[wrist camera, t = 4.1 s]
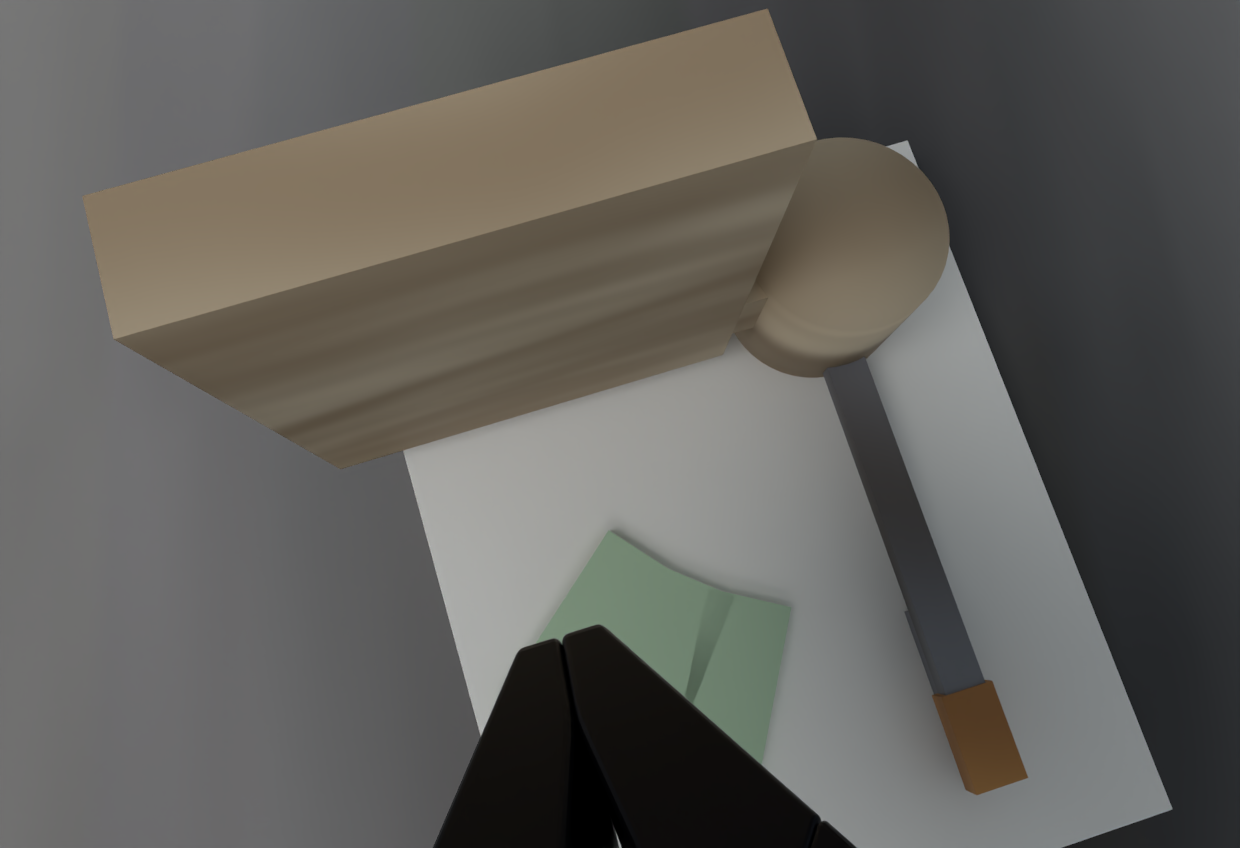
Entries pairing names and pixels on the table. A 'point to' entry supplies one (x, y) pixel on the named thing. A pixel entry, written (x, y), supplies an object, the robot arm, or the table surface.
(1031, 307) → the table surface
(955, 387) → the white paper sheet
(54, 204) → the table surface
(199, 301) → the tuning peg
